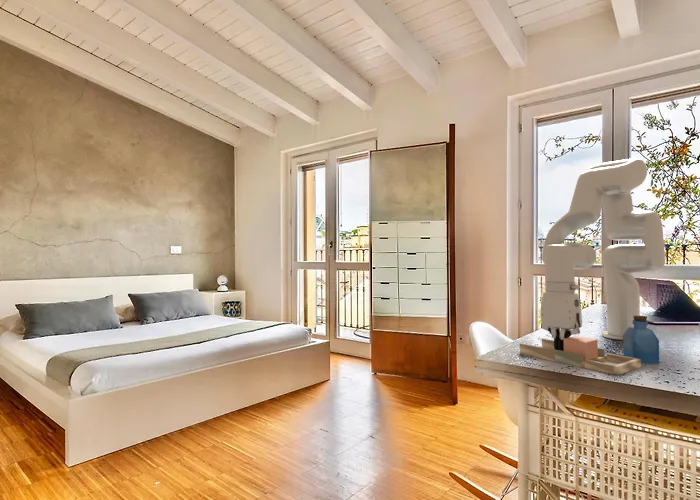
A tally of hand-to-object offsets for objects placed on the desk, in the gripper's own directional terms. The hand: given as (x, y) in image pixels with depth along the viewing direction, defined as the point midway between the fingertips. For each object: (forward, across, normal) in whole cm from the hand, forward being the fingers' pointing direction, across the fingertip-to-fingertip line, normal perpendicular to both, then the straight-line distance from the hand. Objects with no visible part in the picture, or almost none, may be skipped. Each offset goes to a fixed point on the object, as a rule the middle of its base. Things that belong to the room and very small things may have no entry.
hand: (560, 352), depth 122 cm
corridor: (+1, -4, 0) cm, 5 cm away
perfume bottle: (+2, -15, -13) cm, 20 cm away
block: (+1, -6, 0) cm, 6 cm away
